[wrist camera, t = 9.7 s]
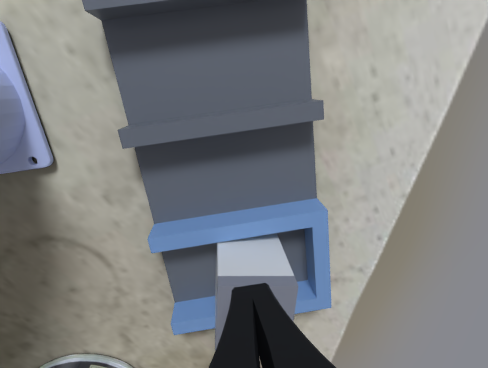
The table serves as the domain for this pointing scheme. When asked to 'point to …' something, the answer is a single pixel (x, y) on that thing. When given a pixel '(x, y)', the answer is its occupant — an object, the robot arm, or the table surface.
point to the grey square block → (252, 273)
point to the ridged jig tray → (221, 137)
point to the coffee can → (86, 362)
